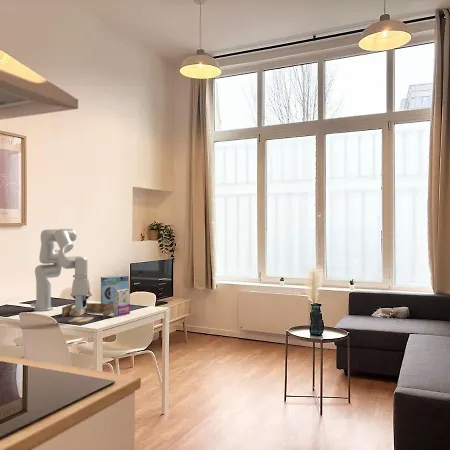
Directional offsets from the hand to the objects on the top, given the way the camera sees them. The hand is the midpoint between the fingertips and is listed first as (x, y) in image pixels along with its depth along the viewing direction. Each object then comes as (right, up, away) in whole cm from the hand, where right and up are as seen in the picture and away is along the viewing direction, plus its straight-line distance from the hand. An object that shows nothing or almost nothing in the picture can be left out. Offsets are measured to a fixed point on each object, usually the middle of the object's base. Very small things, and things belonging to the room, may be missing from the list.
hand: (81, 306), depth 290 cm
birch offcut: (-8, -6, +19) cm, 21 cm away
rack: (-1, -9, +18) cm, 20 cm away
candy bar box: (+21, -9, +19) cm, 30 cm away
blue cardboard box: (+11, -9, +43) cm, 46 cm away
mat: (0, -9, 0) cm, 9 cm away
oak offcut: (-8, -9, +18) cm, 22 cm away
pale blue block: (0, -2, 0) cm, 2 cm away
